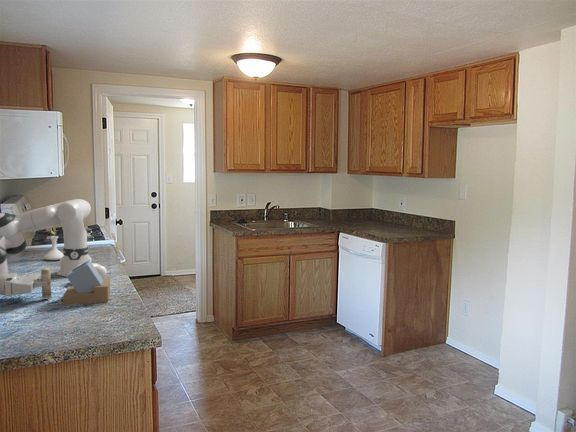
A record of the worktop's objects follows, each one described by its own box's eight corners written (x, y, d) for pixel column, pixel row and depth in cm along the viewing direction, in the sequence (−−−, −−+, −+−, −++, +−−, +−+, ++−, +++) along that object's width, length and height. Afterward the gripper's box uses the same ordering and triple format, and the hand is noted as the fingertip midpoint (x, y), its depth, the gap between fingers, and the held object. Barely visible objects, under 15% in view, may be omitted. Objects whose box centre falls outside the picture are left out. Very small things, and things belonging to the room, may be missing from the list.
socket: (68, 295, 206) (67, 259, 204) (110, 293, 211) (109, 258, 209) (63, 304, 193) (62, 266, 191) (107, 302, 198) (107, 264, 196)
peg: (43, 296, 201) (42, 268, 200) (51, 295, 202) (51, 268, 201) (41, 298, 198) (40, 270, 196) (50, 298, 199) (49, 270, 197)
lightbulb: (91, 291, 214) (90, 267, 213) (93, 287, 220) (92, 264, 219) (106, 290, 216) (105, 266, 215) (107, 286, 222) (107, 263, 221)
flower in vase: (44, 258, 283) (42, 217, 280) (65, 257, 288) (64, 216, 285) (43, 262, 271) (41, 219, 268) (65, 261, 276) (63, 219, 273)
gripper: (18, 284, 206) (53, 283, 210) (5, 297, 186) (44, 295, 190) (17, 270, 205) (52, 269, 209) (4, 282, 185) (43, 280, 189)
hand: (48, 282), depth 199 cm, fingers closed on peg, 3 cm apart
